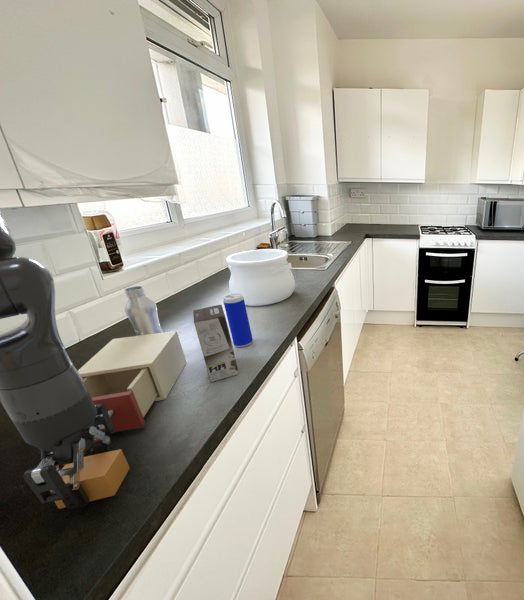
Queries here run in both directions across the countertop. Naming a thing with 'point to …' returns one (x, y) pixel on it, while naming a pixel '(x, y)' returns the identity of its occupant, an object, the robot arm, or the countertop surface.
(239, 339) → the beverage can
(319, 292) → the countertop surface
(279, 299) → the pot
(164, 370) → the cabinet
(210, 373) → the coffee box
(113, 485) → the orange rectangular block
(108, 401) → the drawer
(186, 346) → the countertop surface
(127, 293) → the plastic bottle
